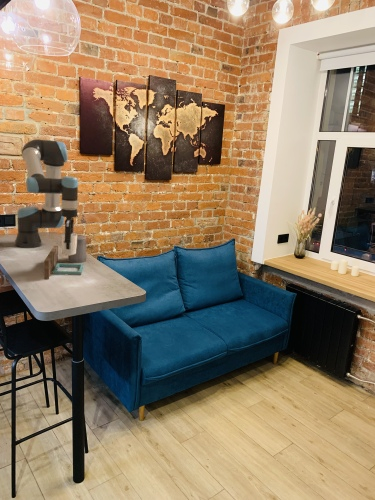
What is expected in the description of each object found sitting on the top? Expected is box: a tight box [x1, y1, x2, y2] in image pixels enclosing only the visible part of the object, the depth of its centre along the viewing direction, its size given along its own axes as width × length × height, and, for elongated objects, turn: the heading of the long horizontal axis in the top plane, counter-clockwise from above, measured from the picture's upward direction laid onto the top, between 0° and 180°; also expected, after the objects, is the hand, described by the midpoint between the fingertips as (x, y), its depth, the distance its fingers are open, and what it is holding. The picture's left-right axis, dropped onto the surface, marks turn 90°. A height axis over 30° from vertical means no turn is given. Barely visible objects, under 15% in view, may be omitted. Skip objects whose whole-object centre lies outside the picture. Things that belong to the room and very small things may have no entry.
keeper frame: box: [52, 262, 84, 276], centre depth 191 cm, size 13×13×2 cm
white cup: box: [60, 232, 78, 256], centre depth 188 cm, size 8×8×10 cm
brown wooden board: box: [43, 245, 59, 280], centre depth 188 cm, size 28×2×9 cm, turn 10°
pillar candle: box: [67, 234, 87, 264], centre depth 207 cm, size 10×10×15 cm
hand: (69, 252), depth 189 cm, fingers closed on white cup, 7 cm apart
